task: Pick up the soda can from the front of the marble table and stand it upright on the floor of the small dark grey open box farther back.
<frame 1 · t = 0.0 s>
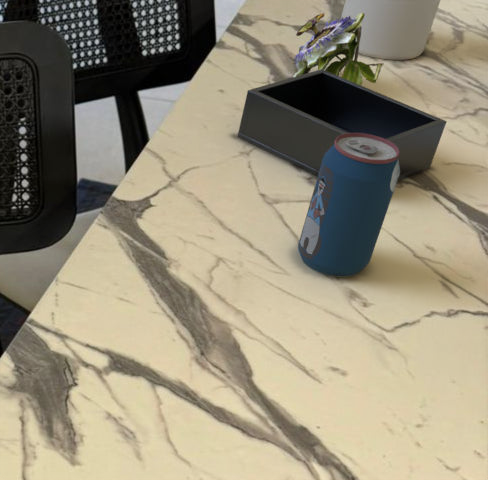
soda can: (329, 265, 100), on the table
dark grey open box: (331, 154, 119), on the table
passion flower: (327, 91, 135), on the table
cylinder vase: (378, 47, 149), on the table
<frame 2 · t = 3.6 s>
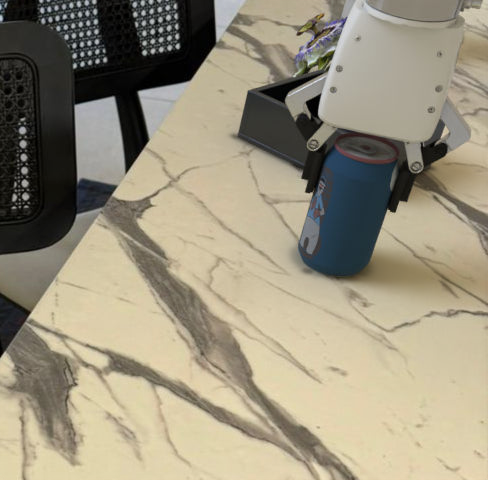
hand: (351, 195, 95), 7 cm above the table, tool pointing down, fingers closed on soda can, 7 cm apart
soda can: (329, 265, 100), on the table, touching gripper
everything else where it was.
when the fingers open (8 cm above the table, at t = 11.6 s): soda can stays where it is, resting on dark grey open box.
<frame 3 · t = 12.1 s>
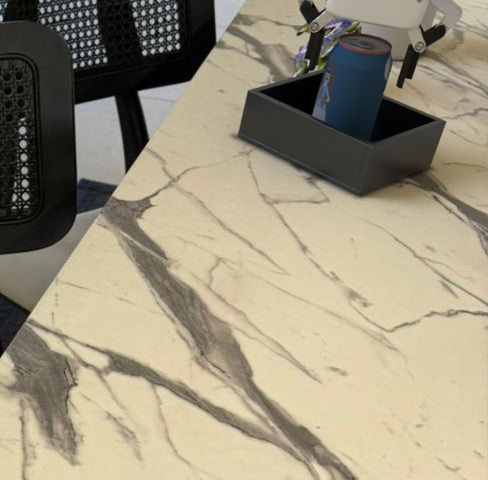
hand: (355, 75, 113), 9 cm above the table, tool pointing down, fingers open, 9 cm apart
soda can: (334, 149, 119), point 1 cm above the table, touching dark grey open box
everything else where it was.
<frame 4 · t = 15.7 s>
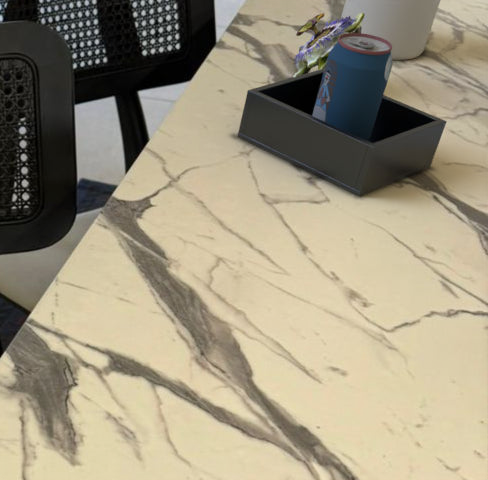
nothing on the table moved.
at the end: soda can inside the target area in the dark grey open box (0.1 cm from its centre), point 0.6 cm above the dark grey open box's base; soda can tilted 0°; the gripper is holding nothing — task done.
